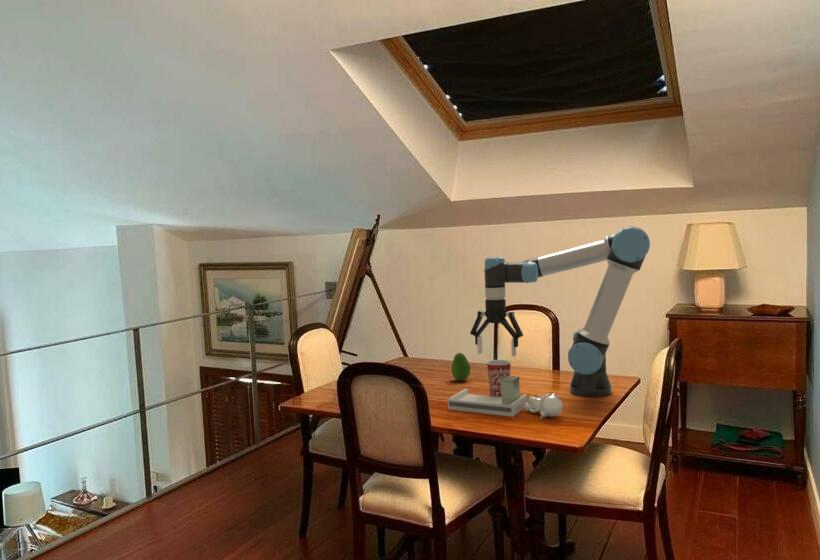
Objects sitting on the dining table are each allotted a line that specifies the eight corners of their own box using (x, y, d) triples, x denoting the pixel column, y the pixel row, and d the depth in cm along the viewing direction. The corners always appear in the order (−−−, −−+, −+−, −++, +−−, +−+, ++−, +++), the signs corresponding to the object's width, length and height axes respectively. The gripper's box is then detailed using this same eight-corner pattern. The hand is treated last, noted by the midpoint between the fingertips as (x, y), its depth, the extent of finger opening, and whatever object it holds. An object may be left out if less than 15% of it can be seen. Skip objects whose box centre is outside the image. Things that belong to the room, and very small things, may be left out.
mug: (515, 399, 227) (513, 363, 226) (490, 401, 226) (489, 365, 225) (506, 391, 240) (505, 357, 239) (483, 393, 239) (482, 358, 238)
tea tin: (520, 402, 216) (519, 376, 215) (514, 406, 211) (513, 380, 210) (507, 401, 218) (507, 375, 218) (501, 405, 213) (500, 379, 212)
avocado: (450, 382, 257) (449, 354, 256) (452, 378, 265) (451, 351, 264) (470, 382, 256) (468, 354, 255) (471, 378, 264) (470, 350, 263)
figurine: (530, 385, 215) (558, 386, 202) (544, 398, 217) (573, 399, 203) (516, 410, 211) (543, 412, 197) (530, 423, 213) (558, 426, 199)
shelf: (527, 405, 219) (527, 394, 219) (512, 416, 206) (512, 405, 206) (465, 399, 231) (465, 388, 231) (448, 409, 218) (447, 398, 218)
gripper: (530, 298, 227) (531, 354, 229) (468, 296, 240) (470, 350, 241) (523, 300, 221) (525, 358, 222) (460, 298, 233) (462, 354, 235)
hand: (496, 354), depth 232 cm, fingers open, 13 cm apart
